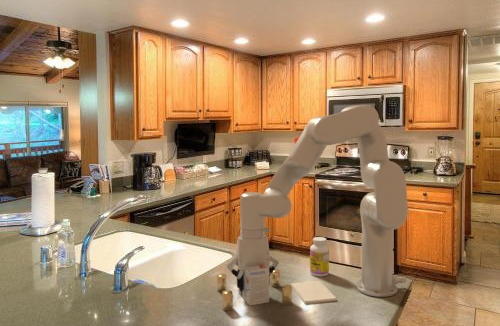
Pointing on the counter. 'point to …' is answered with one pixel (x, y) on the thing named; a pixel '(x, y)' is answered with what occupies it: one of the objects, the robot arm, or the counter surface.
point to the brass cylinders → (275, 282)
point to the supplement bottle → (319, 257)
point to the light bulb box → (255, 285)
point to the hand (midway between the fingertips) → (253, 288)
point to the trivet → (313, 292)
